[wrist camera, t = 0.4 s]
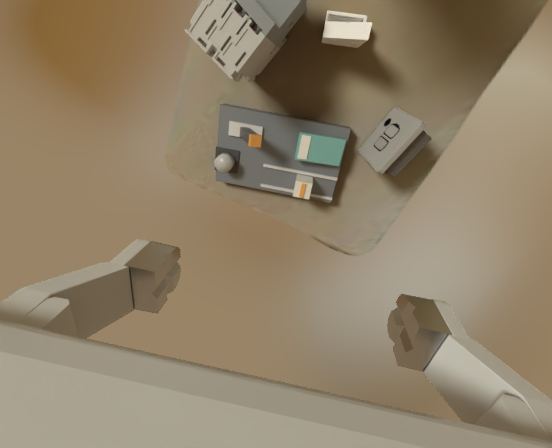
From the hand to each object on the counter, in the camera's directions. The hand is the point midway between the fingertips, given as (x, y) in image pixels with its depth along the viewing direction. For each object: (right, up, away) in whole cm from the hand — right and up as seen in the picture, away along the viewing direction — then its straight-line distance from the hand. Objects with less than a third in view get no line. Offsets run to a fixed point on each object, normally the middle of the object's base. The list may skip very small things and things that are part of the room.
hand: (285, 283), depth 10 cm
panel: (0, +16, +43) cm, 46 cm away
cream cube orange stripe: (+5, +10, +42) cm, 44 cm away
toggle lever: (-6, +18, +38) cm, 43 cm away
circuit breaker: (-2, +34, +34) cm, 48 cm away
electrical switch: (+20, +18, +39) cm, 47 cm away
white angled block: (+10, +32, +33) cm, 47 cm away
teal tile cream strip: (+7, +15, +38) cm, 41 cm away
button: (-10, +14, +42) cm, 45 cm away
